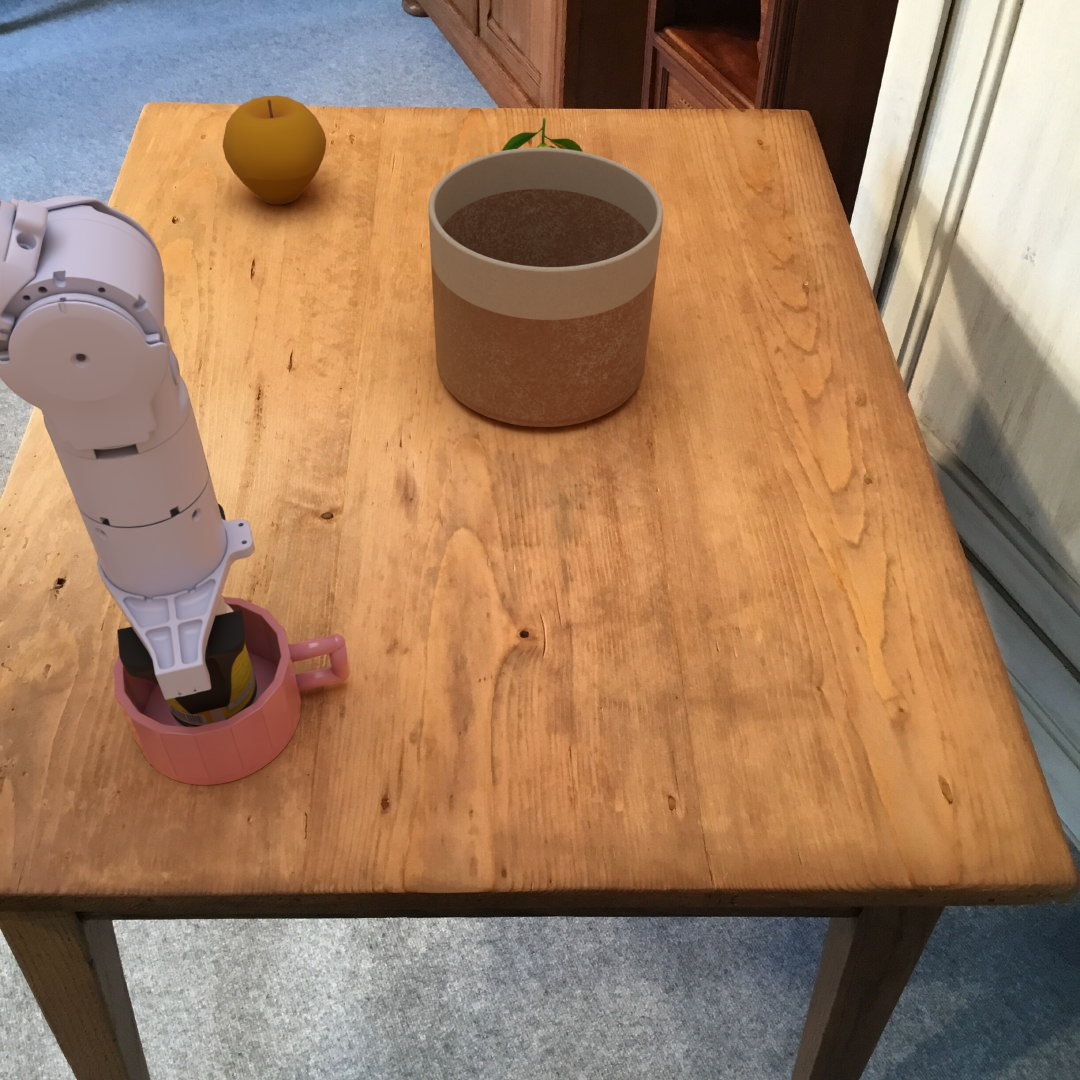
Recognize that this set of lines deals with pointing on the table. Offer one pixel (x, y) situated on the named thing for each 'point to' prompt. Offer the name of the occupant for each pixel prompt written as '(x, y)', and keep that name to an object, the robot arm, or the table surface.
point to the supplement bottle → (241, 691)
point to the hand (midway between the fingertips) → (203, 665)
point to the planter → (543, 283)
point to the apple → (274, 147)
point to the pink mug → (248, 733)
